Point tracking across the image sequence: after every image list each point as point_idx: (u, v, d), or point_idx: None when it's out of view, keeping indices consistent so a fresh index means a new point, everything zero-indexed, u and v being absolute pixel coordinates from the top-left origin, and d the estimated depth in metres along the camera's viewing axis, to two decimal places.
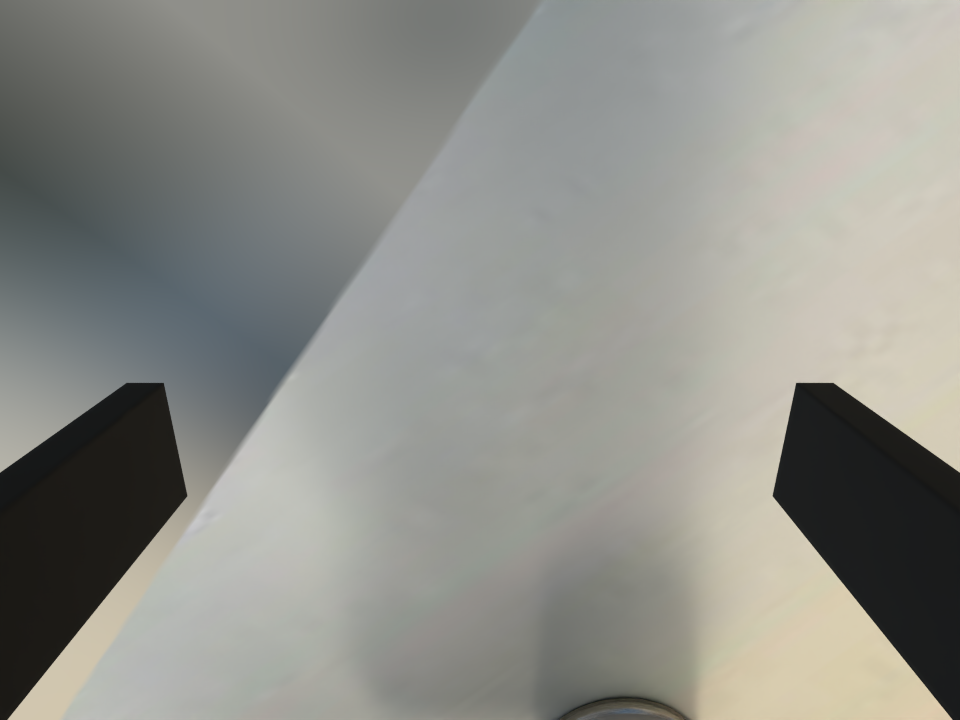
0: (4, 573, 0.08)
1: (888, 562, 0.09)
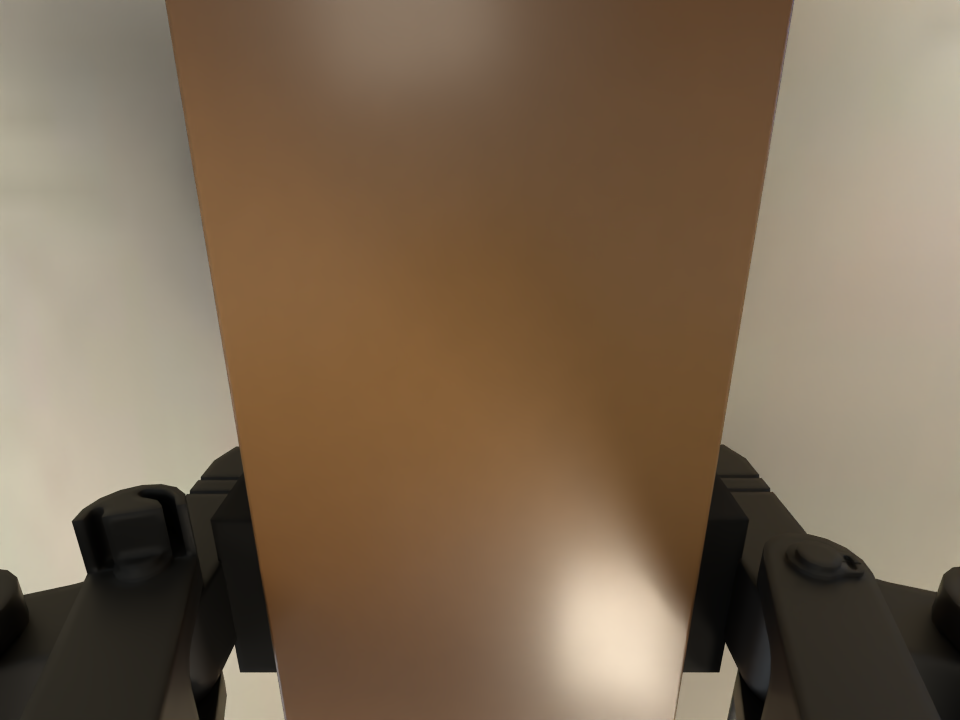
0: None
1: None
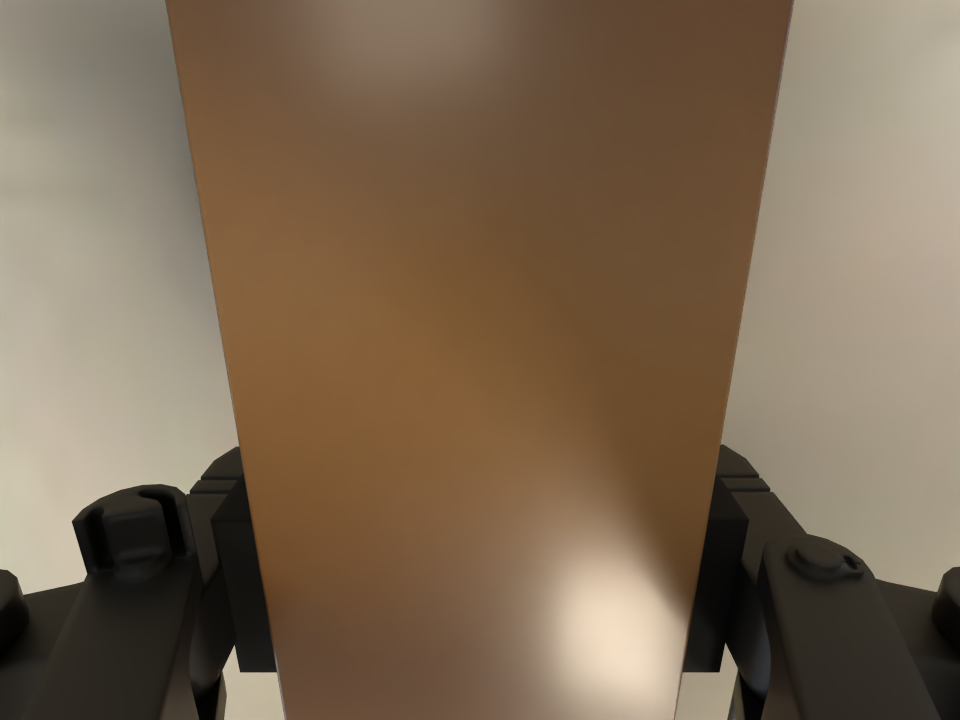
0: None
1: None
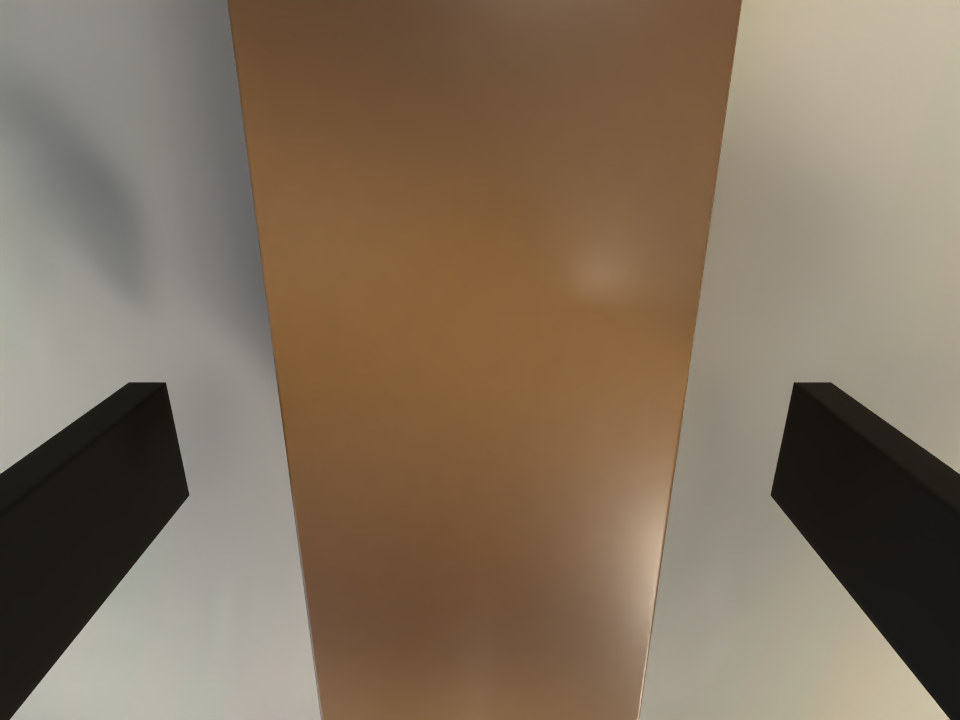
0: (8, 571, 0.08)
1: (885, 561, 0.09)
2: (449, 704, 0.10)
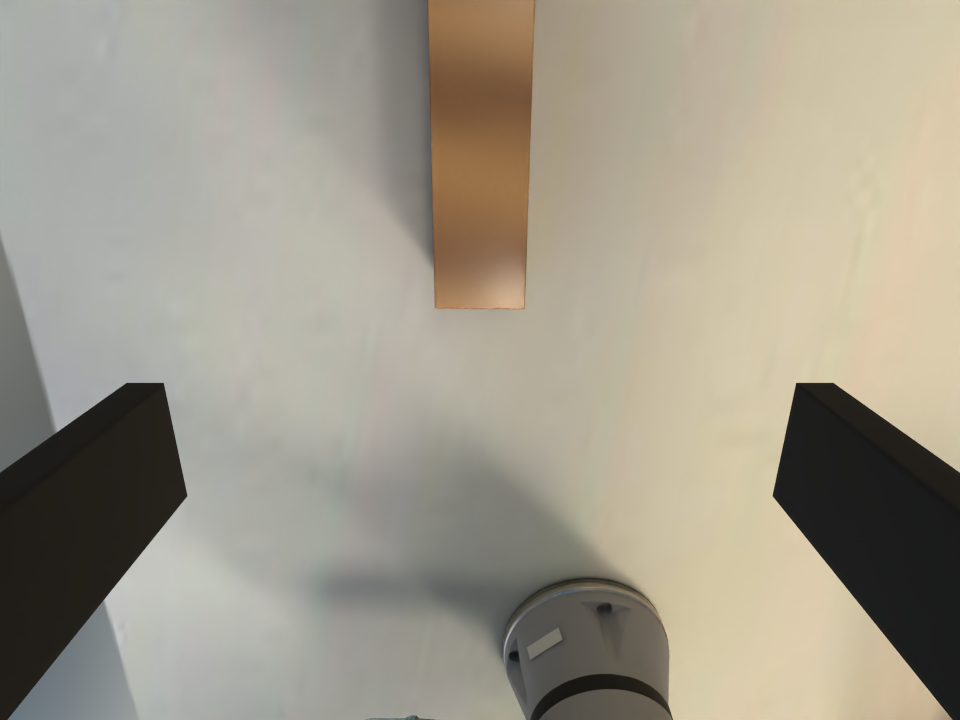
0: (3, 574, 0.08)
1: (888, 562, 0.09)
2: (471, 293, 0.36)
